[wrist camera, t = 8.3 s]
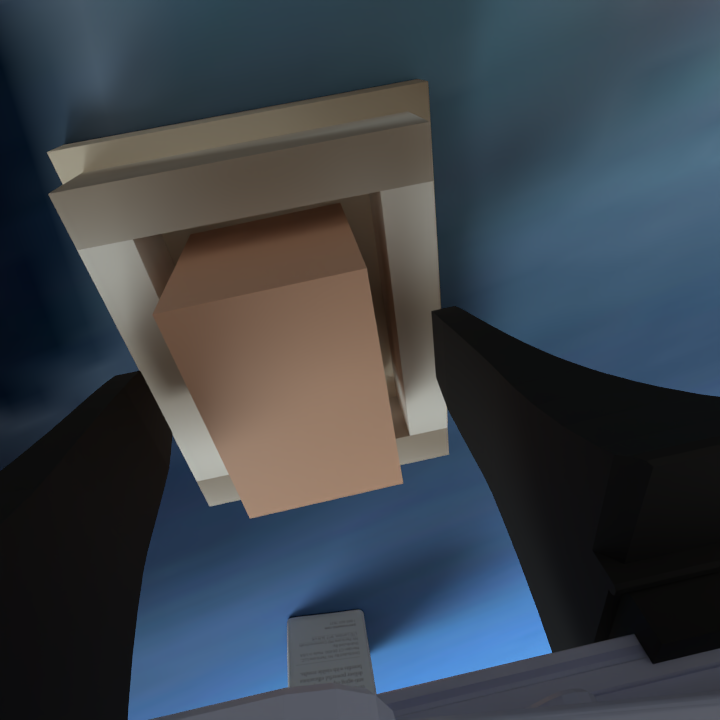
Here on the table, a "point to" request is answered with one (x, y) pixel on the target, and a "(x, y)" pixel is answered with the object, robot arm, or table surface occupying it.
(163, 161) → the stand
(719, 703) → the robot arm
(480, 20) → the table surface
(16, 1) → the table surface
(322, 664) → the skincare box
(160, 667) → the table surface
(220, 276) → the keyed block
